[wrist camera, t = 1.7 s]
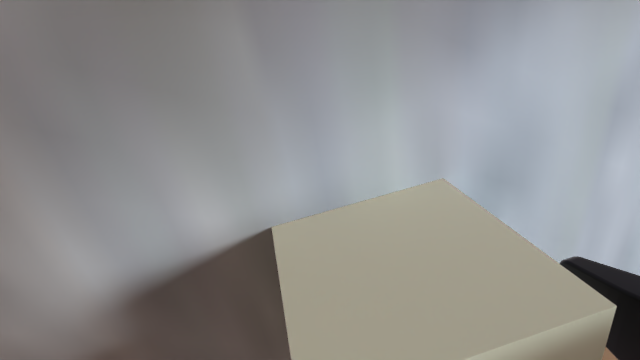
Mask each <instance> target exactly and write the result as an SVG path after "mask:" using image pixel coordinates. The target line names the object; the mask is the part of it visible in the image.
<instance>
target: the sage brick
mask: <svg viewBox="0 0 640 360" xmlns="http://www.w3.org/2000/svg"><path fill="white" fill-rule="evenodd" d="M271 228H272V234H273V241H274V248H275V254H276V261H277V268H278V275H279V281H280V288H281V295H282V301H283V308H284V315H285V321H286V328H287V335H288V341H289V348H290V355H291V360H602V357H603V354H604V350H605V347H606V343H607V339H608V336H609V332H610V329H611V325H612V322H613V318H614V314H615V311H616V307H617V306H616V305H615V304H613V303H612V302H611V301H609V300H608V299H607V298H605V297H604V296H603V295H601V294H600V293H598V292H597V291H596V290H594V289H593V288H592V287H590V286H589V285H588V284H586V283H585V282H583V281H582V280H581V279H579V278H578V277H577V276H575V275H574V274H573V273H571V272H570V271H569V270H567V269H566V268H564V267H563V266H562V265H560V264H559V263H558V262H556V261H555V260H554V259H552V258H551V257H549V256H548V255H547V254H545V253H544V252H543V251H541V250H540V249H539V248H537V247H536V246H535V245H533V244H532V243H530V242H529V241H528V240H526V239H525V238H524V237H522V236H521V235H520V234H518V233H517V232H515V231H514V230H513V229H511V228H510V227H509V226H507V225H506V224H505V223H503V222H502V221H501V220H499V219H498V218H496V217H495V216H494V215H492V214H491V213H490V212H488V211H487V210H486V209H484V208H483V207H481V206H480V205H479V204H477V203H476V202H475V201H473V200H472V199H471V198H469V197H468V196H466V195H465V194H464V193H462V192H461V191H460V190H458V189H457V188H456V187H454V186H453V185H452V184H450V183H449V182H447V181H446V180H445V179H443V178H442V179H439V180H435V181H432V182H428V183H425V184H421V185H418V186H414V187H411V188H407V189H404V190H400V191H396V192H393V193H389V194H386V195H382V196H379V197H375V198H372V199H368V200H365V201H361V202H358V203H354V204H351V205H347V206H344V207H340V208H337V209H333V210H330V211H326V212H323V213H319V214H316V215H312V216H308V217H305V218H301V219H298V220H294V221H291V222H287V223H284V224H280V225H277V226H273V227H271Z"/></svg>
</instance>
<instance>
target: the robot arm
mask: <svg viewBox="0 0 640 360" xmlns="http://www.w3.org/2000/svg"><path fill="white" fill-rule="evenodd" d="M560 265H562V266H563V267H564V268H566V269H567V270H569V271H570V272H571V273H573V274H574V275H575V276H577V277H578V278H579V279H581V280H582V281H583V282H585V283H586V284H588V285H589V286H590V287H592V288H593V289H594V290H596V291H597V292H598V293H600V294H601V295H603V296H604V297H605V298H607V299H608V300H609V301H611V302H612V303H613V304H615V305H616V306H617V307H616V311H615V314H614V318H613V322H612V325H611V329H610V332H609V336H608V339H607V343H606V347H607V349H608V350H609V351H610V352H611V353H612V354H613V355H614V356H615V357H616V358H617V359H618V360H640V276H638V275H635V274H632V273H629V272H626V271H623V270H619V269H616V268H613V267H610V266H607V265H604V264H600V263H597V262H594V261H591V260H588V259H585V258H581V257H571V258H568V259H565V260H562V261H561V262H560Z"/></svg>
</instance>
